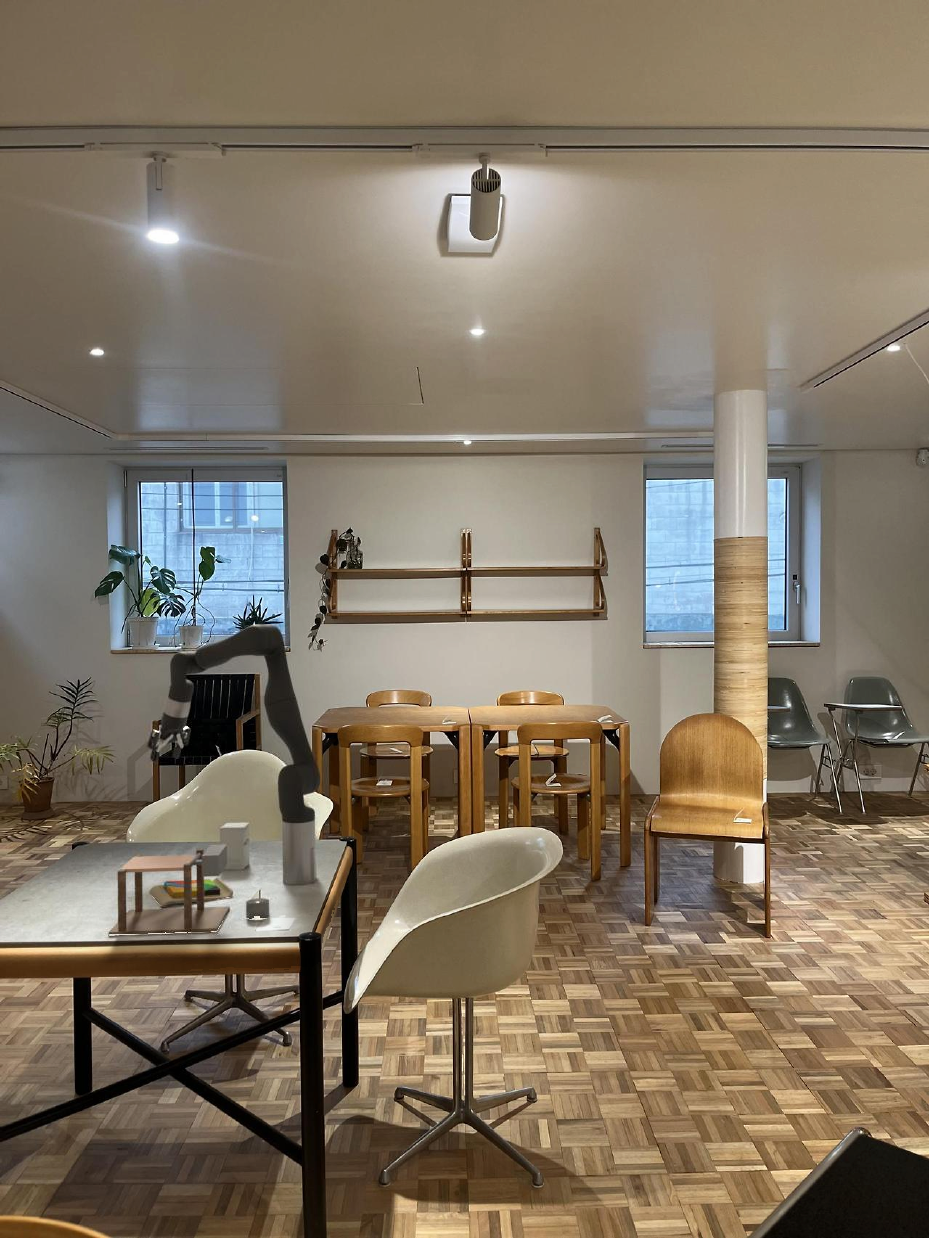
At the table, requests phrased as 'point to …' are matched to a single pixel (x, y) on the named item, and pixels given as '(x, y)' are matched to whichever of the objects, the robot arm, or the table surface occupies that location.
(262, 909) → the stubby grey cylinder
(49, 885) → the table surface
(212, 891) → the wooden puzzle
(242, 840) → the supplement box
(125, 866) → the trapdoor
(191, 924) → the trapdoor stand
